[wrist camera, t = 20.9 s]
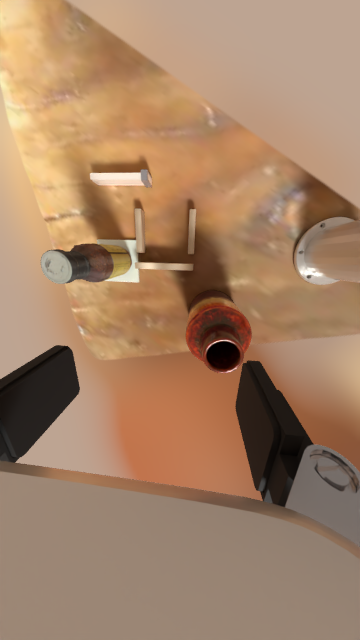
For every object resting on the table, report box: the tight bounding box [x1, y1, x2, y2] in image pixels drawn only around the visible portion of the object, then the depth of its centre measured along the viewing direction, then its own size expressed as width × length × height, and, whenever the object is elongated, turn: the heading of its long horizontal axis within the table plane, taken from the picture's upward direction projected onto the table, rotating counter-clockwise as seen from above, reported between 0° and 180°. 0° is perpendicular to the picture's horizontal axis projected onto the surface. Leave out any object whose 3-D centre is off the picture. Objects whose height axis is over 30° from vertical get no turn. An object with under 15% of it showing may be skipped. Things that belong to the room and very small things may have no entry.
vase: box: [186, 290, 252, 373], centre depth 33 cm, size 11×11×20 cm
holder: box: [135, 209, 196, 271], centre depth 36 cm, size 12×11×4 cm
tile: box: [97, 239, 140, 282], centre depth 40 cm, size 9×9×1 cm
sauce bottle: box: [41, 244, 132, 284], centre depth 30 cm, size 7×6×20 cm
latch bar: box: [90, 170, 152, 187], centre depth 33 cm, size 11×2×3 cm, turn 88°
